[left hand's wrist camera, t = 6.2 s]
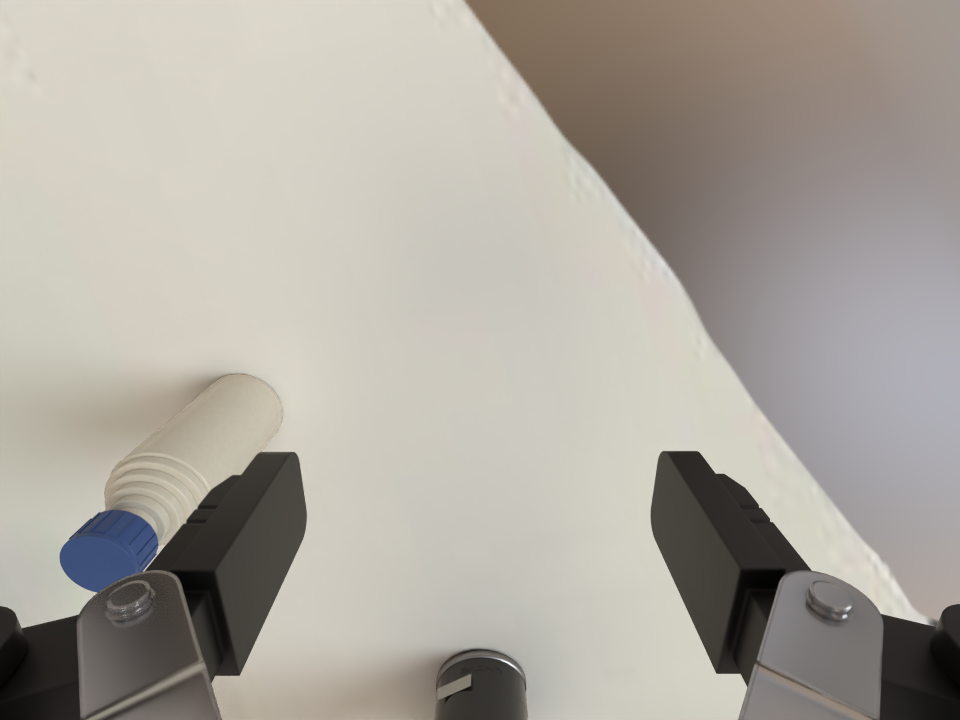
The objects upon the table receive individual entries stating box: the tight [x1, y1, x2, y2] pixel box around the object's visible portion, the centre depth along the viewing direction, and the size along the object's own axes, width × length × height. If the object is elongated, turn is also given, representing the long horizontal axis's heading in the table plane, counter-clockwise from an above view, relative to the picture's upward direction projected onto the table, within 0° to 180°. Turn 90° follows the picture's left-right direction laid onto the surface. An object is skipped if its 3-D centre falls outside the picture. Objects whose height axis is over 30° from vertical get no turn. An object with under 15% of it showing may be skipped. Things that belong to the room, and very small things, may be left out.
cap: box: [60, 509, 159, 592], centre depth 28 cm, size 4×4×2 cm
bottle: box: [105, 374, 283, 545], centre depth 35 cm, size 6×6×18 cm
